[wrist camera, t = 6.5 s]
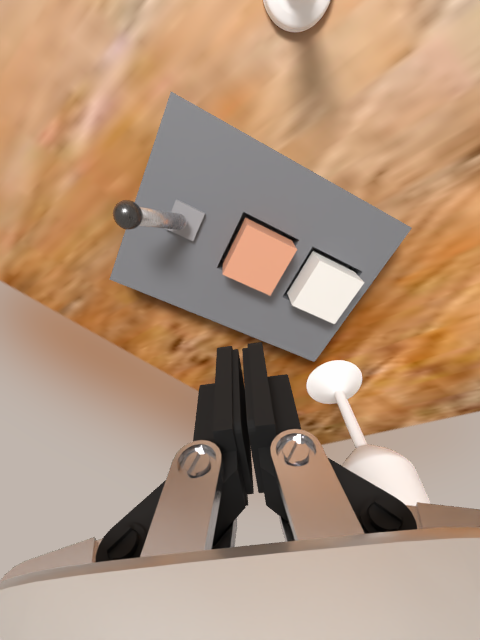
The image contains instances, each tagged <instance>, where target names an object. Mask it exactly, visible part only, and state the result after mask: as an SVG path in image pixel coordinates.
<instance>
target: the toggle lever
mask: <svg viewBox="0 0 480 640" xmlns="http://www.w3.org/2000/svg"><path fill="white" fill-rule="evenodd" d="M113 217H114V220H115V222H116V223H117V224H118V225H119V226H120V227H122V228H124V229H128V230H131V229H135V228H137V227H138V226H145V227H155V228H165V229H174V230H182V229H184V228H185V227H186V225H187V220H186V218H185V216H184V215H182V214H179V213H173V212H167V211H161V210H154V209H148V208H142V207H139V206H138V205H137V204H136V203H135V202H133V201H130V200H123V201H121V202H119V203H117V204H116V206H115V207H114V210H113Z"/></svg>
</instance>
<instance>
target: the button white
mask: <svg viewBox="0 0 480 640" xmlns="http://www.w3.org/2000/svg"><path fill="white" fill-rule="evenodd" d="M363 284H364V282H363V280H362V279H361V278H360V277H359V276H358V275H357V274H356V273H355V272H354V271H352V270H350V269H348V268H346V267H344V266H342V265H340V264H338V263H336V262H334V261H332V260H330V259H328V258H326V257H324V256H322V255H320V254H318V253H316V252H314V251H312V253H311V255H310V256H309V258H308V260H307V261H306V263H305V265H304V266H303V268H302V270H301V271H300V273H299V275H298V276H297V278H296V279H295V281H294V283H293V284H292V286H291V288H290V289H289V291H288V293H287V294H288V296H289V299H290V302H291V304H292V306H294V307H297V308H299V309H301V310H304V311H306V312H308V313H310V314H313V315H315V316H317V317H319V318H322V319H324V320H326V321H328V322H331V323H333V324H335V323H336V322H337V320H338V319H339V317H340V316H341V315H342V313H343V312H344V310H345V309H346V308H347V306H348V305H349V303H350V302H351V301H352V299H353V298H354V296H355V295H356V294H357V292H358V291H359V290H360V288H361V287H362V285H363Z"/></svg>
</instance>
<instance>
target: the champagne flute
mask: <svg viewBox="0 0 480 640" xmlns="http://www.w3.org/2000/svg"><path fill="white" fill-rule="evenodd" d="M361 383H362V374H361V371H360V370H359V368H358V367H357V366H356V365H354V364H353V363H350V362H347V361H342V360H336V361H330V362H327V363H324V364H322V365H320V366H319V367H317V368H316V369H315V370H314V371H313V372H312V373H311V374H310V376H309V378H308V380H307V391H308V393H309V395H310V396H311V397H312V398H313V399H314V400H316V401H318V402H321V403H325V404H334V403H337V404H338V406H339V409H340V411H341V414H342V416H343V419H344V421H345V423H346V426H347V428H348V431H349V433H350V436H351V438H352V440H353V443H354V445H355V448H356V449H355V450H354V451H353V452H352V453H351V454H350V456H349V457H348V458H347V459H346V460H345V462H344V463H343V467H344V468H346V469H348V470H350V471H351V472H353V473H355V474H357V475H358V476H360V477H362V478H363V479H365V480H367V481H369V482H370V483H372V484H374V485H375V486H377V487H379V488H381V489H382V490H384V491H386V492H387V493H389V494H391V495H393V496H394V497H396V498H397V499H399V500H400V501H401V502H403V503H404V504H405V505H411V506H416V504H417V502H419V503H428V504H431V502H430V500H429V498H428V496H427V493H426V491H425V489H424V487H423V484H422V482H421V480H420V478H419V475H418V473H417V471H416V468H415V467H414V466H413V465H412V463H411V462H410V461H409V460H408V459H406V458H405V457H403V456H402V455H400V454H399V453H397V452H395V451H393V450H390V449H388V448H384V447H379V446H374V445H368V444H367V442H366V440H365V438H364V435H363V433H362V431H361V429H360V427H359V424H358V422H357V420H356V418H355V416H354V413H353V411H352V409H351V407H350V405H349V402H348V400H347V399H349V398H350V397H352V396H353V395H354V394H355V393H356V392H357V391H358V390H359V388H360V386H361Z"/></svg>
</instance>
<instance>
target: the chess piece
mask: <svg viewBox="0 0 480 640" xmlns="http://www.w3.org/2000/svg"><path fill="white" fill-rule="evenodd" d="M330 1H331V0H263V3H264V6H265V9H266V11H267V13H268V15H269V17H270V18H271V20H272V21H273V22H274V23H275V24H276V25H277V26H278V27H280V28H281V29H283V30H285V31H288V32H302V31H305V30H307V29H309V28H311V27H312V26H314V25H315V24H316V23H317V22H318V21H319V20H320V19H321V18H322V16H323V15H324V13H325V12H326V10H327V8H328V6H329V3H330Z"/></svg>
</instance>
